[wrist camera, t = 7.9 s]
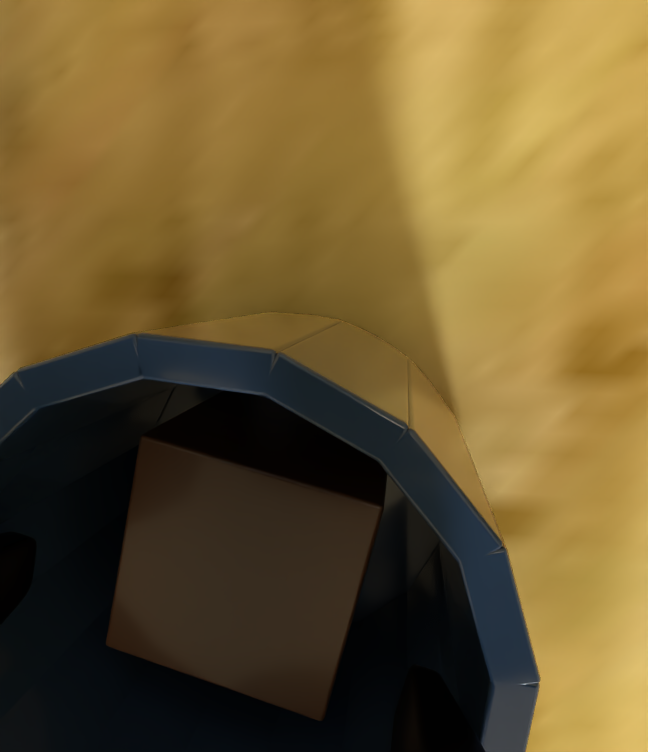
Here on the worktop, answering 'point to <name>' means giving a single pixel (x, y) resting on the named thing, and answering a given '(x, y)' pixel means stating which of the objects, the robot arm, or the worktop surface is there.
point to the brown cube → (246, 550)
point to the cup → (380, 586)
